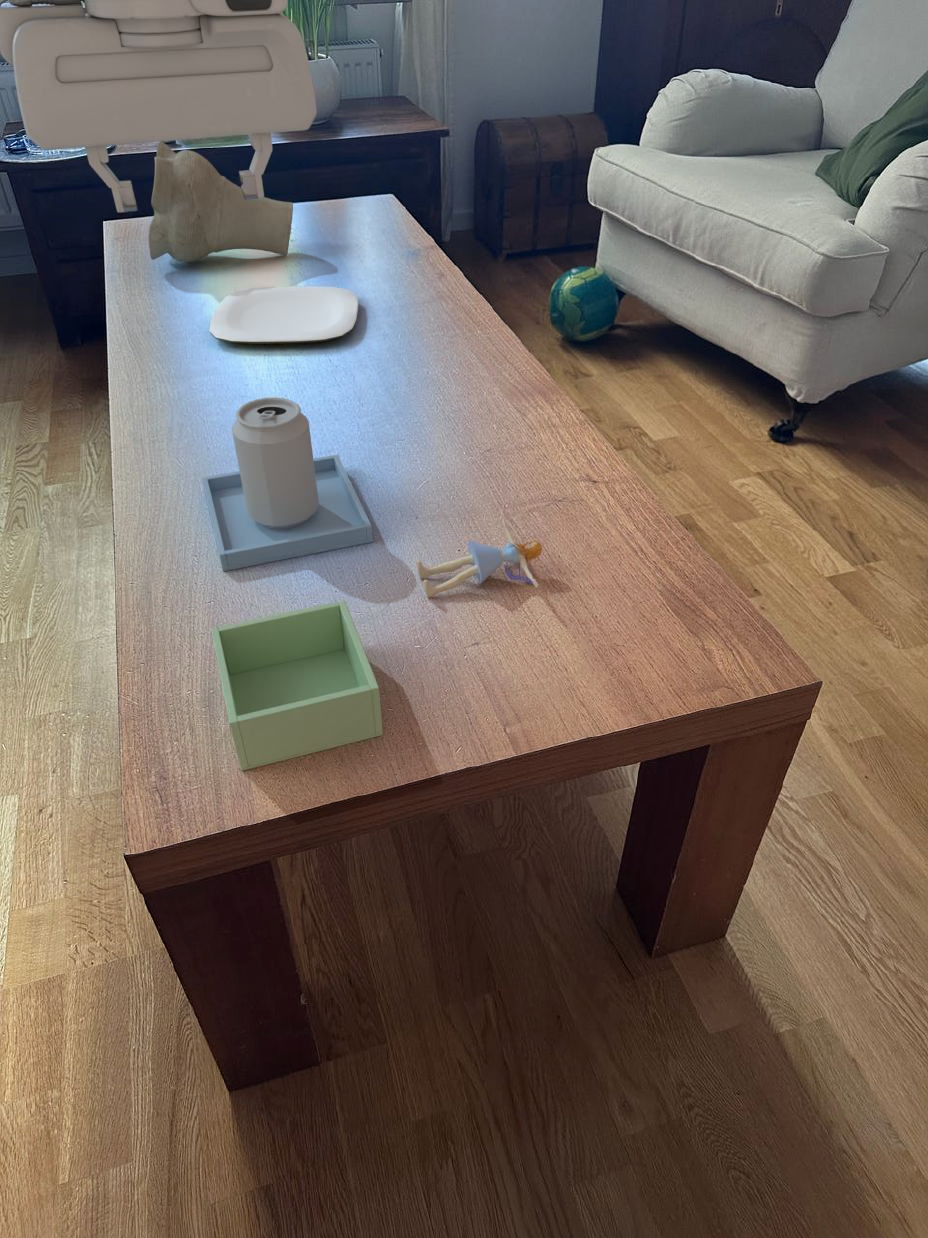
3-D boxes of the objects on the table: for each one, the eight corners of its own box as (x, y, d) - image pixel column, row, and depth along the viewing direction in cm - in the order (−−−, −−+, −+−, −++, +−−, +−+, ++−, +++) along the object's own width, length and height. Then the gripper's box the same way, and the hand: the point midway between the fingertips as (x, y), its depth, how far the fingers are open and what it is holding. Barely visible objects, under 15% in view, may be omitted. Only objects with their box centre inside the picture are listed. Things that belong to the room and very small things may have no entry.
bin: (241, 771, 67) (229, 723, 64) (222, 675, 75) (210, 628, 72) (383, 735, 70) (379, 687, 67) (350, 646, 78) (344, 599, 75)
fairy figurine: (405, 525, 86) (522, 496, 88) (412, 563, 90) (525, 534, 91) (432, 596, 78) (560, 563, 79) (439, 635, 81) (562, 603, 83)
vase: (317, 158, 159) (154, 121, 151) (328, 166, 141) (142, 125, 133) (303, 283, 169) (148, 255, 161) (311, 305, 151) (137, 275, 143)
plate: (227, 296, 143) (225, 286, 142) (361, 294, 143) (361, 284, 142) (202, 352, 126) (200, 340, 125) (354, 349, 127) (353, 338, 126)
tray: (223, 571, 87) (219, 555, 85) (204, 493, 98) (201, 477, 96) (373, 541, 90) (371, 525, 89) (339, 469, 101) (337, 454, 100)
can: (326, 496, 96) (314, 393, 88) (310, 535, 90) (296, 429, 83) (259, 492, 97) (241, 390, 89) (239, 531, 91) (218, 425, 83)
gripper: (-25, -10, 53) (46, 229, 62) (309, -21, 59) (330, 202, 67) (-18, -19, 58) (47, 205, 67) (291, -29, 63) (313, 181, 72)
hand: (191, 203), depth 67 cm, fingers open, 8 cm apart
